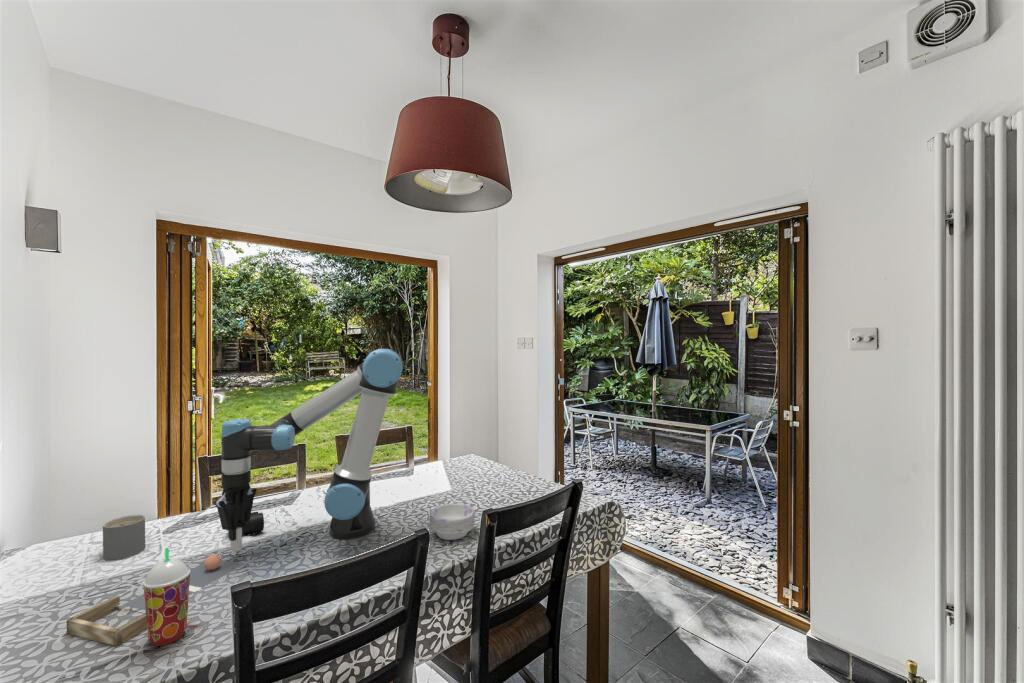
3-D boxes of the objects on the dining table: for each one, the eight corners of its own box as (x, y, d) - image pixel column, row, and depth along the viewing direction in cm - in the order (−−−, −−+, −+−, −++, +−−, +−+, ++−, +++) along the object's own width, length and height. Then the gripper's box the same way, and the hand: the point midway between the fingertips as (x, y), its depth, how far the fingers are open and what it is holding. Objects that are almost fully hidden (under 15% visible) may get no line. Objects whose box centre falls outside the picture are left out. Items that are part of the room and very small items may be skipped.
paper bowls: (484, 533, 150) (484, 510, 150) (449, 549, 139) (448, 524, 139) (455, 521, 160) (455, 499, 160) (420, 534, 149) (420, 511, 149)
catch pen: (164, 618, 105) (164, 605, 105) (116, 646, 96) (116, 632, 96) (116, 607, 110) (116, 595, 110) (66, 633, 100) (66, 620, 100)
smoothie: (161, 626, 102) (160, 540, 102) (199, 624, 103) (198, 538, 103) (133, 652, 94) (132, 558, 94) (175, 649, 94) (174, 556, 94)
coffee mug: (147, 552, 139) (147, 520, 139) (104, 564, 131) (104, 530, 131) (141, 539, 148) (140, 509, 148) (100, 549, 141) (100, 518, 141)
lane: (244, 567, 129) (244, 563, 129) (158, 616, 106) (158, 612, 106) (212, 561, 132) (212, 558, 132) (122, 608, 109) (122, 604, 109)
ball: (224, 566, 127) (224, 553, 127) (211, 574, 123) (211, 559, 123) (213, 565, 128) (213, 551, 128) (200, 572, 124) (200, 557, 124)
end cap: (229, 543, 144) (229, 523, 144) (226, 536, 150) (226, 516, 150) (264, 534, 151) (264, 514, 151) (260, 528, 156) (259, 508, 156)
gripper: (245, 464, 141) (244, 538, 141) (206, 476, 128) (206, 557, 128) (263, 466, 138) (263, 541, 138) (226, 478, 126) (226, 561, 126)
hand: (236, 549), depth 133 cm, fingers closed
